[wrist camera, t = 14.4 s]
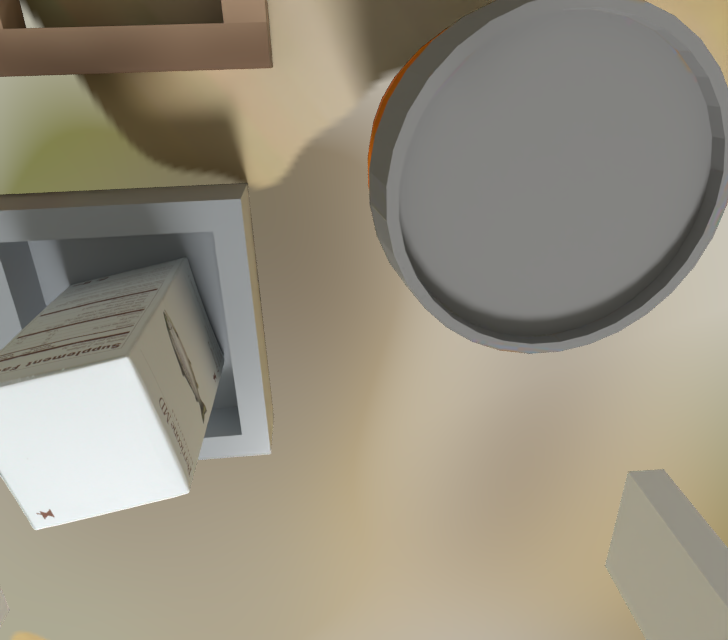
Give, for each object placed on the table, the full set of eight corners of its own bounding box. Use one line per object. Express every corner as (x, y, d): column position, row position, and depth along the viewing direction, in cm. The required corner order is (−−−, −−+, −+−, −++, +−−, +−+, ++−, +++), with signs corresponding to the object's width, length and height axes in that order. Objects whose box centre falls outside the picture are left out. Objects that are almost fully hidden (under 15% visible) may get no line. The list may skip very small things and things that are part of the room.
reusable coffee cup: (602, 147, 34) (802, 208, 20) (436, 283, 36) (515, 417, 23) (479, -44, 29) (632, -130, 16) (299, 127, 32) (296, 181, 18)
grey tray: (-9, 195, 32) (-49, 213, 28) (247, 183, 33) (240, 199, 29) (63, 433, 38) (38, 473, 35) (273, 417, 39) (270, 454, 36)
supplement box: (228, 360, 36) (194, 500, 25) (114, 386, 36) (28, 537, 25) (190, 252, 33) (130, 354, 22) (65, 280, 33) (-59, 397, 22)
